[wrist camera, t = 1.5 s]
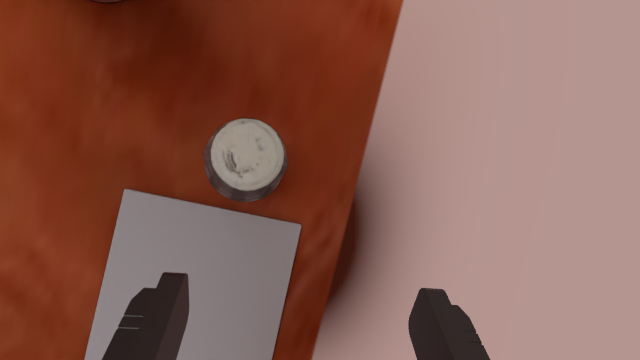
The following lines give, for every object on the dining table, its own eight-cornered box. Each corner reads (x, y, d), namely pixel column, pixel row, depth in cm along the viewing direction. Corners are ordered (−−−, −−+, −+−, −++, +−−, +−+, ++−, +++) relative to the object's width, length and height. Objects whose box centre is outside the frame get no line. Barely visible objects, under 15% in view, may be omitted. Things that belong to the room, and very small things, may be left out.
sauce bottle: (210, 189, 39) (164, 202, 20) (220, 129, 39) (184, 84, 20) (272, 198, 40) (288, 220, 21) (282, 141, 40) (307, 108, 21)
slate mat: (80, 385, 37) (77, 389, 36) (127, 188, 38) (124, 189, 37) (260, 406, 40) (260, 411, 39) (300, 223, 41) (301, 225, 40)
